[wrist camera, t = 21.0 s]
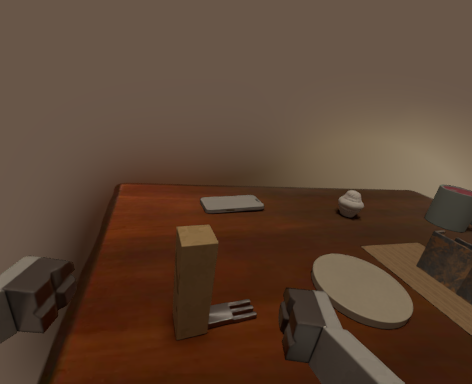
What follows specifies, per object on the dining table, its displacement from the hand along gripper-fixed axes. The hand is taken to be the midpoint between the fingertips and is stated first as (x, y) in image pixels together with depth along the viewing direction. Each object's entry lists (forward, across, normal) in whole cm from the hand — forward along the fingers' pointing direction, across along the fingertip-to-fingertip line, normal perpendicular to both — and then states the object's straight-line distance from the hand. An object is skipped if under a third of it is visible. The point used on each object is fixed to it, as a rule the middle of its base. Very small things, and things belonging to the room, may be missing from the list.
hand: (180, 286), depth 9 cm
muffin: (+49, -34, +18) cm, 62 cm away
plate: (+21, -23, +18) cm, 36 cm away
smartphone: (+46, -3, +18) cm, 49 cm away
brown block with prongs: (+13, -2, +18) cm, 22 cm away
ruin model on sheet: (+24, -42, +18) cm, 51 cm away
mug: (+51, -65, +18) cm, 85 cm away
